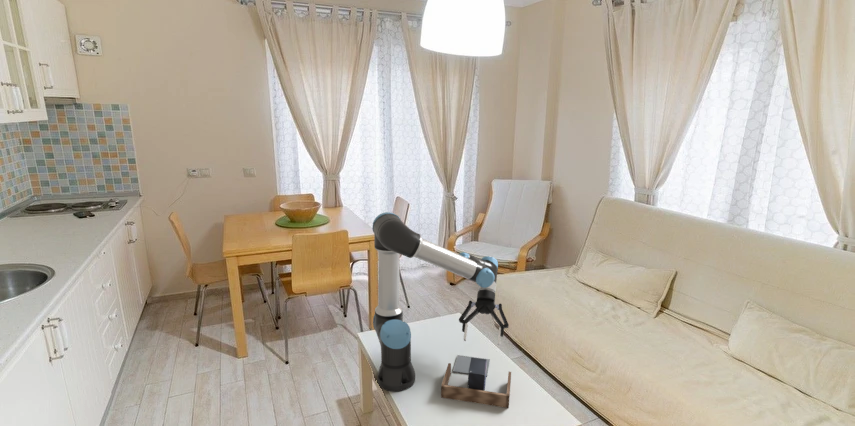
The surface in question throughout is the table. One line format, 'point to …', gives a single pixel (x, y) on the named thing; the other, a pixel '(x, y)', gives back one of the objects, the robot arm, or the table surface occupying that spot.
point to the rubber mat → (465, 364)
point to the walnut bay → (474, 393)
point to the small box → (477, 374)
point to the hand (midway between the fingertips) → (481, 342)
